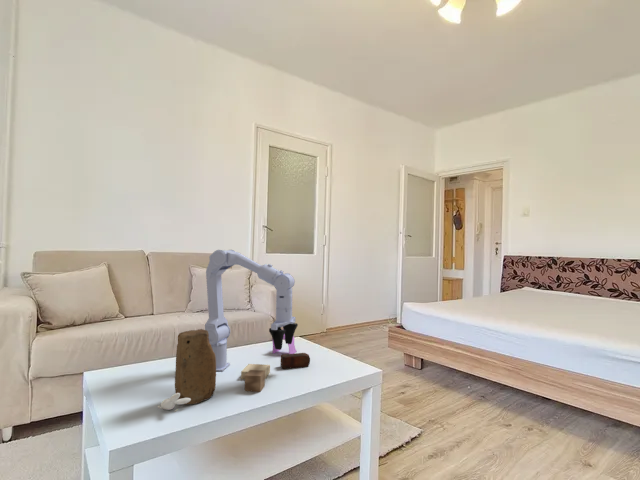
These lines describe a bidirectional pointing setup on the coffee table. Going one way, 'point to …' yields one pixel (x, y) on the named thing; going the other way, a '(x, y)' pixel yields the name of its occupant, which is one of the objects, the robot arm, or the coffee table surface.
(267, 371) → the oak base
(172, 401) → the rabbit figurine
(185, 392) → the brown rounded upright slab
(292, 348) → the toy chair
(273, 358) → the coffee table surface
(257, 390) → the walnut cube
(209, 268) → the robot arm
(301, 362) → the brick
